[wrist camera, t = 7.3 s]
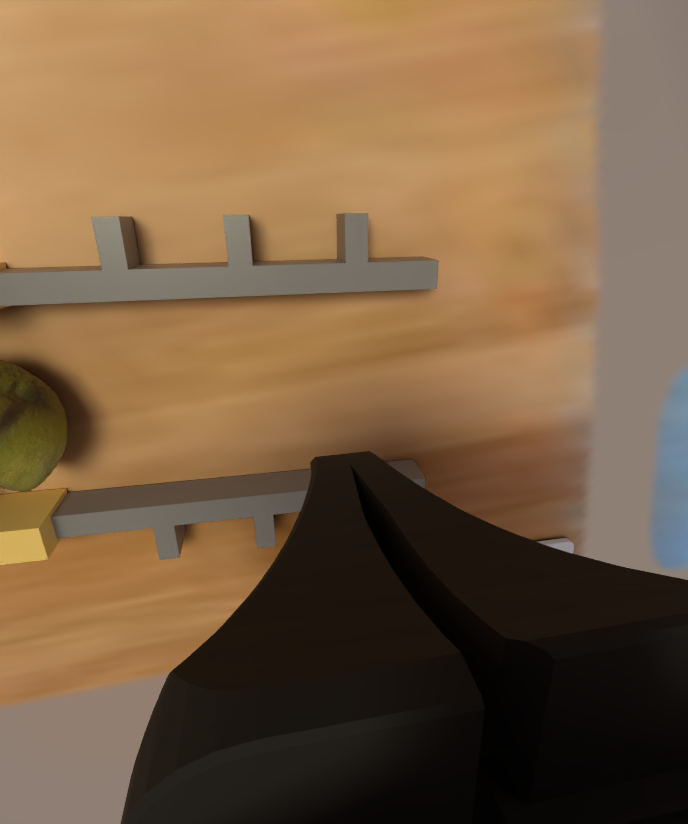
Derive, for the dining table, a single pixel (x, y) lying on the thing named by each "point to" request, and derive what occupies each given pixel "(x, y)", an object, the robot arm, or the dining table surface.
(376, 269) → the grey u-shaped block
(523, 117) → the dining table surface
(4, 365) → the lime
